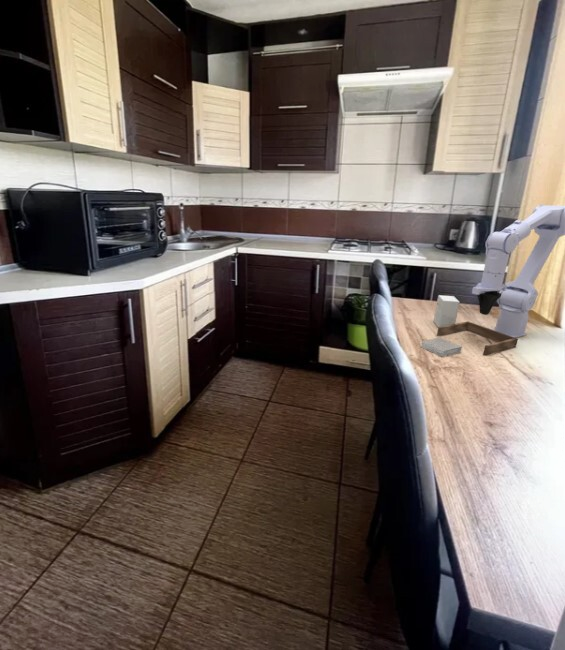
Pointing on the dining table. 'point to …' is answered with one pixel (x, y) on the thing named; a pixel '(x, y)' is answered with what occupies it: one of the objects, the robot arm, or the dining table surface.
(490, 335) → the brown u-shaped frame
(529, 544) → the dining table surface
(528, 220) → the robot arm
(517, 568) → the dining table surface
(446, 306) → the small box
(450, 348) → the cover plate
